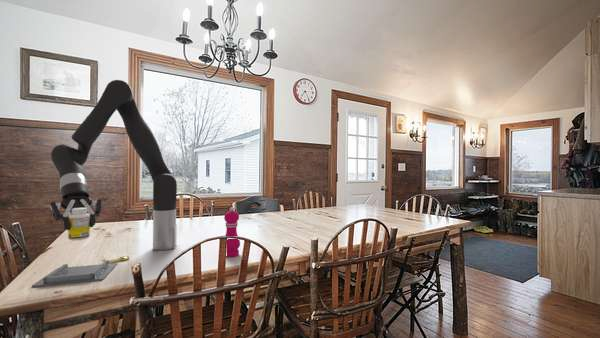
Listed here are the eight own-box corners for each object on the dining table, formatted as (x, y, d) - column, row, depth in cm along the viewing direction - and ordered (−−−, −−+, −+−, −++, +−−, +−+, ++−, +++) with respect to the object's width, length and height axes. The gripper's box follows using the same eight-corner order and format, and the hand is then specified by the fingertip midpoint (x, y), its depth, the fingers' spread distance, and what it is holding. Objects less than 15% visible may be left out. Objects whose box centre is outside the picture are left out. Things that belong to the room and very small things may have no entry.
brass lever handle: (127, 258, 106) (127, 255, 106) (130, 259, 104) (130, 257, 104) (107, 262, 101) (107, 260, 101) (110, 264, 99) (110, 261, 99)
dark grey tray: (117, 264, 99) (117, 258, 99) (102, 280, 86) (102, 273, 86) (57, 269, 93) (57, 263, 93) (32, 287, 80) (32, 280, 80)
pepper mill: (235, 258, 108) (236, 209, 107) (218, 256, 109) (219, 208, 109) (242, 252, 115) (243, 206, 114) (227, 251, 116) (227, 205, 116)
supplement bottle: (71, 237, 91) (72, 207, 91) (91, 235, 93) (92, 206, 93) (65, 241, 86) (65, 210, 85) (86, 240, 88) (87, 209, 88)
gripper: (47, 182, 89) (52, 223, 81) (100, 181, 99) (108, 217, 92) (45, 196, 92) (49, 237, 84) (97, 193, 103) (104, 230, 95)
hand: (80, 227), depth 88 cm, fingers closed on supplement bottle, 5 cm apart
